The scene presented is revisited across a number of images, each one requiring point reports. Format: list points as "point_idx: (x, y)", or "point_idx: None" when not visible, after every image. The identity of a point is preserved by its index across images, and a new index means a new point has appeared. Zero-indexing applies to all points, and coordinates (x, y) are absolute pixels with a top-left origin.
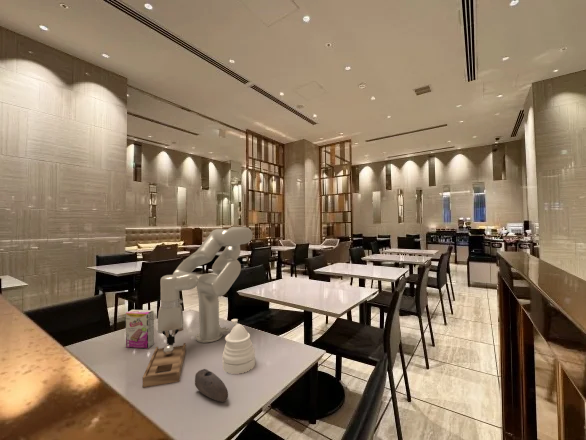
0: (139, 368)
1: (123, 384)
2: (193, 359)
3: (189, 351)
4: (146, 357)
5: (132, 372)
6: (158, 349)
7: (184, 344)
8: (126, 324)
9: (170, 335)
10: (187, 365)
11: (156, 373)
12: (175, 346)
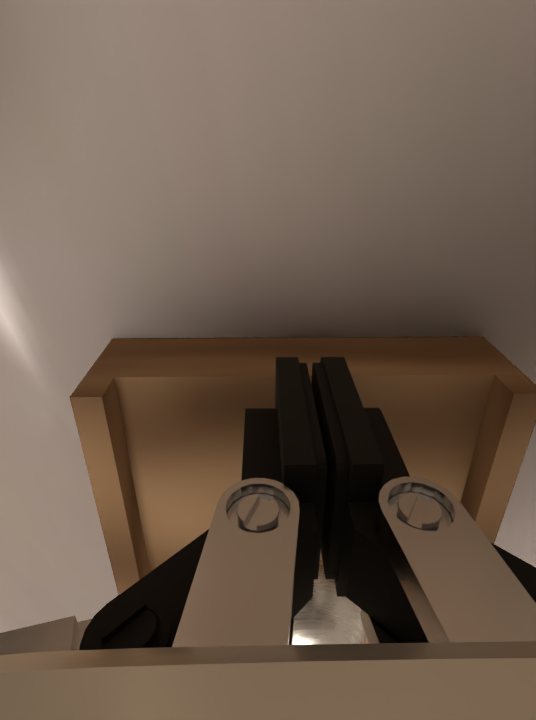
0: (48, 552)
1: None
2: (526, 530)
3: (523, 368)
4: (8, 374)
5: (18, 588)
6: (124, 402)
7: (517, 437)
8: None
9: (315, 494)
10: None
11: None
12: (369, 375)
